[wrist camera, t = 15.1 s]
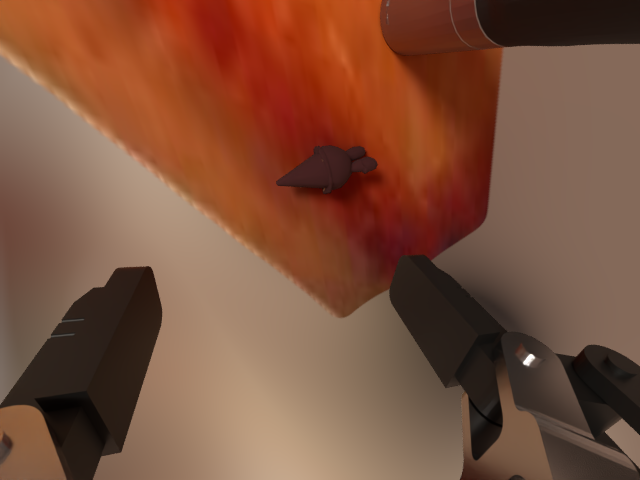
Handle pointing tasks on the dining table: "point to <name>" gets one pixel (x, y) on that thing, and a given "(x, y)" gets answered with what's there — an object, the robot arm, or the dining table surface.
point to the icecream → (328, 168)
